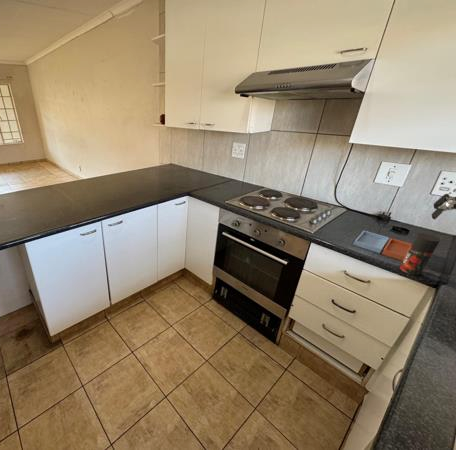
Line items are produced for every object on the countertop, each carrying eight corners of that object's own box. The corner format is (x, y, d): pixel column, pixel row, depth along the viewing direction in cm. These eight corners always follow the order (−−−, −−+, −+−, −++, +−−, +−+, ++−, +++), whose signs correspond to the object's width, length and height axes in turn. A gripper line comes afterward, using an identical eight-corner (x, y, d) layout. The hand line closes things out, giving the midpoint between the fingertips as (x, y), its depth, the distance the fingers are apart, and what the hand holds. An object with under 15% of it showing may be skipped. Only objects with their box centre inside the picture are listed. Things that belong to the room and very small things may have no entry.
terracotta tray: (417, 250, 108) (419, 246, 107) (411, 263, 100) (414, 259, 99) (389, 241, 115) (390, 238, 114) (381, 253, 106) (383, 249, 105)
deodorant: (424, 275, 93) (445, 241, 86) (408, 275, 93) (428, 241, 86) (410, 265, 98) (428, 233, 92) (395, 265, 99) (412, 233, 92)
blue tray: (387, 241, 115) (389, 237, 114) (379, 253, 107) (381, 249, 106) (362, 234, 122) (363, 230, 121) (353, 244, 113) (354, 240, 112)
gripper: (456, 177, 92) (423, 209, 94) (516, 188, 80) (476, 225, 82) (456, 189, 96) (424, 220, 98) (513, 201, 84) (476, 236, 86)
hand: (448, 222), depth 90 cm, fingers open, 8 cm apart
